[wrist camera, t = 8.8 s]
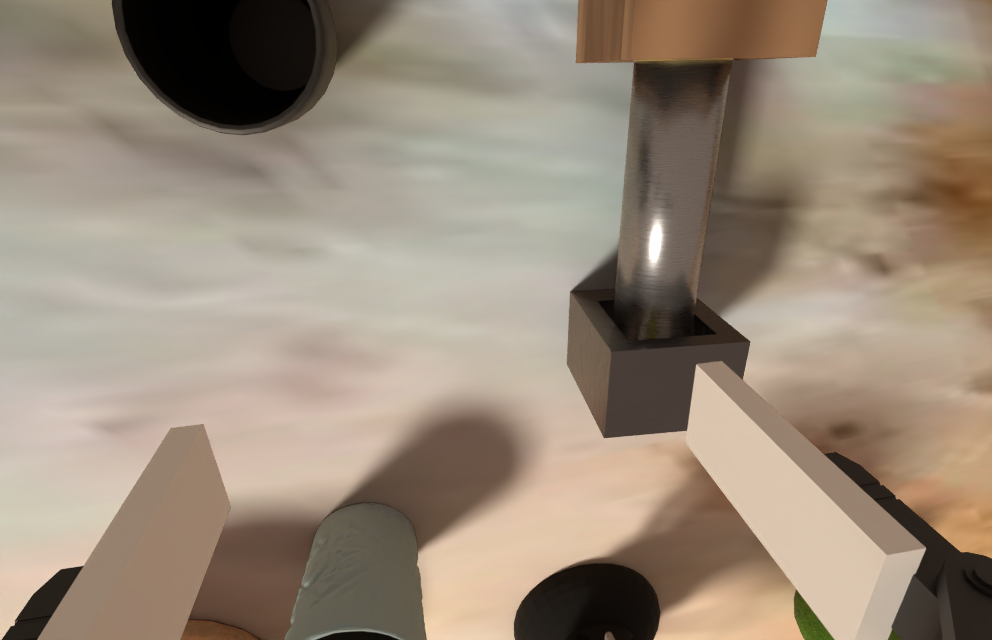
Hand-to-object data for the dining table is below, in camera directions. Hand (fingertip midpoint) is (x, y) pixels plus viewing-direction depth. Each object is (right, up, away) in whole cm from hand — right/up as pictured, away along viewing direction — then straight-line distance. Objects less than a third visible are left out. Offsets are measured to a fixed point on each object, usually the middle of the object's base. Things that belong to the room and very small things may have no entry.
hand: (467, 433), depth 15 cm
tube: (+11, +11, +20) cm, 25 cm away
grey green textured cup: (-10, -16, +32) cm, 37 cm away
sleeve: (+10, +3, +26) cm, 28 cm away
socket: (+10, +21, +18) cm, 29 cm away
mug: (-11, +21, +15) cm, 28 cm away
